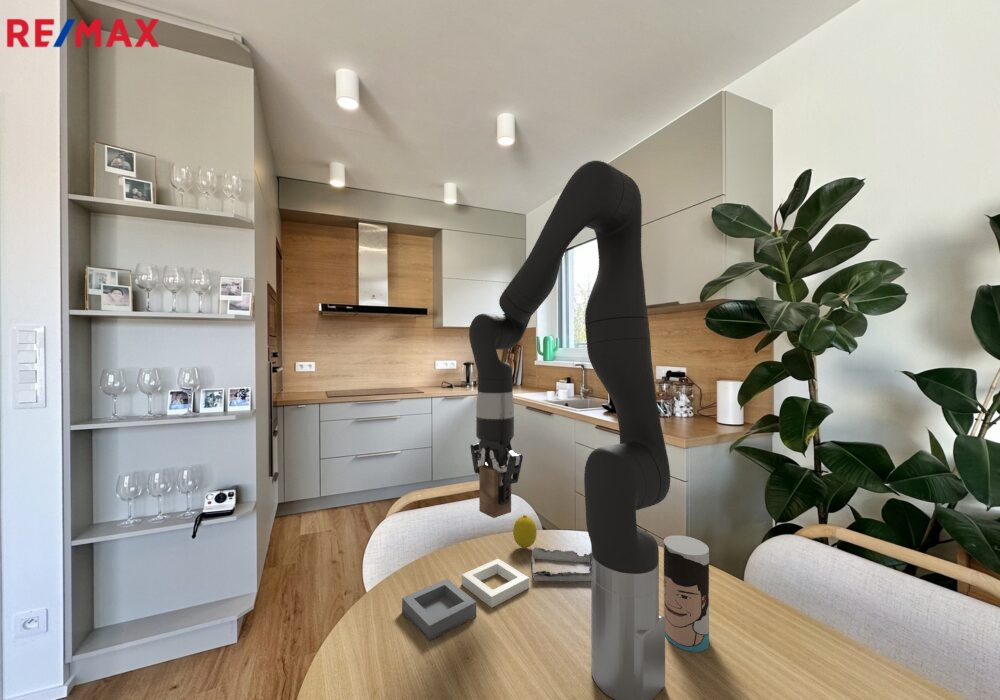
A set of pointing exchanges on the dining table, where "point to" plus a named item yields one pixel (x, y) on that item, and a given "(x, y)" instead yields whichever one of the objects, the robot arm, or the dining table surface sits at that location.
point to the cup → (686, 592)
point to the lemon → (524, 531)
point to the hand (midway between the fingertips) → (495, 499)
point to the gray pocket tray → (438, 608)
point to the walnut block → (491, 493)
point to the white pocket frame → (502, 593)
